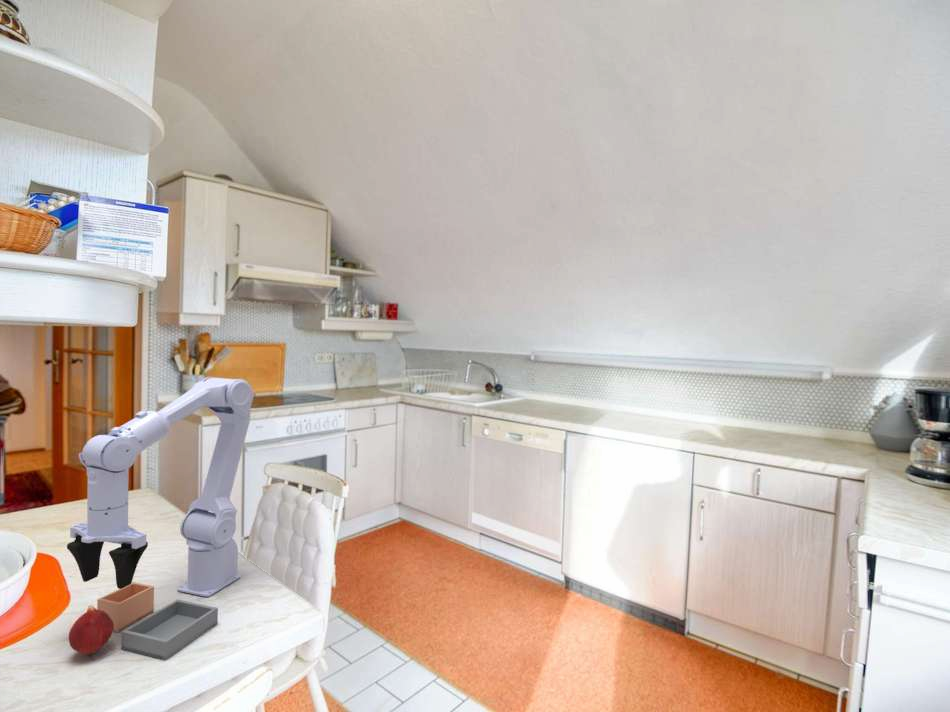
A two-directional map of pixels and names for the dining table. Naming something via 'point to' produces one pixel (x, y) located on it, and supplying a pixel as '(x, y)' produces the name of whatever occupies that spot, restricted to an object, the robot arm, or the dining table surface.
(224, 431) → the robot arm
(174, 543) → the dining table surface
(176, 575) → the dining table surface
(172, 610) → the big crate
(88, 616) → the onion
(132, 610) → the small crate
